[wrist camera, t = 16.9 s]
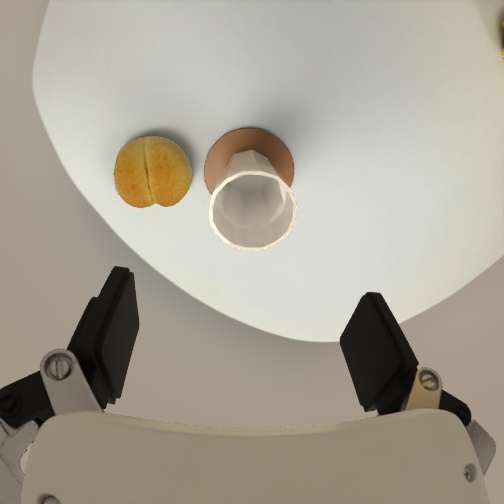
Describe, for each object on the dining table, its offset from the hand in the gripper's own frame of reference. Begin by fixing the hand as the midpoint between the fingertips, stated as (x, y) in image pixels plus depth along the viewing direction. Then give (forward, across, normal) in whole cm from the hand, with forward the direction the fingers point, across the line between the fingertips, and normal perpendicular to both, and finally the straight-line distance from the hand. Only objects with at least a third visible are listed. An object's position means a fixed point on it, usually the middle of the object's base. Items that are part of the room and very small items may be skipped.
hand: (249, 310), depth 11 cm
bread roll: (+23, +10, +2) cm, 25 cm away
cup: (+22, -1, +1) cm, 22 cm away
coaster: (+23, -1, +1) cm, 23 cm away
